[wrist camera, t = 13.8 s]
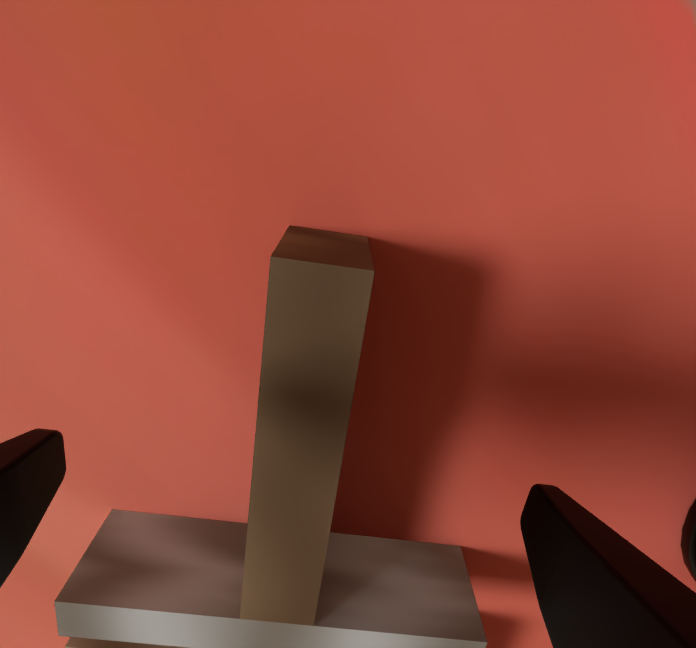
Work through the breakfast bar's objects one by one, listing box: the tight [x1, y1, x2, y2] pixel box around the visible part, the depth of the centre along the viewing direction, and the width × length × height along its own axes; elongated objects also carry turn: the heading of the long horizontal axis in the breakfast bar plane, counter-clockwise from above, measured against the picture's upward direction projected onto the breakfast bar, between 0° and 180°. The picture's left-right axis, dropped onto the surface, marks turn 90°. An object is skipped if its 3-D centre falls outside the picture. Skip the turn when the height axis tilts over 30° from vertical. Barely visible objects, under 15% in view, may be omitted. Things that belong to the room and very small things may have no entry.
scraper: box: [54, 226, 488, 648], centre depth 15 cm, size 14×14×4 cm
